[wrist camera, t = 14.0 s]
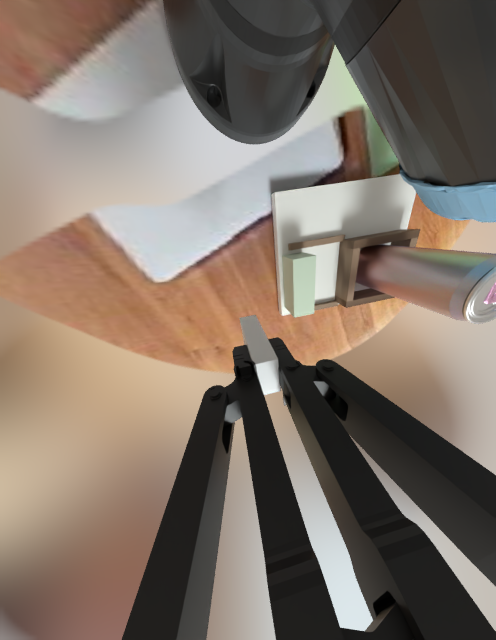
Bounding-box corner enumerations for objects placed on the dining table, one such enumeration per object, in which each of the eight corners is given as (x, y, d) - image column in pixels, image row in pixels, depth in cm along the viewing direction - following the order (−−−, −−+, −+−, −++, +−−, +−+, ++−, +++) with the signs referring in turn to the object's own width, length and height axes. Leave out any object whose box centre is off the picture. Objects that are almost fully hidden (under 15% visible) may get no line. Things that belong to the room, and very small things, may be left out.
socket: (339, 239, 26) (354, 240, 23) (399, 229, 26) (420, 229, 24) (334, 300, 30) (346, 307, 27) (385, 290, 31) (401, 295, 28)
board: (271, 194, 23) (276, 191, 21) (410, 174, 25) (426, 169, 23) (279, 312, 31) (283, 317, 29) (384, 290, 33) (394, 294, 31)
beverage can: (386, 240, 27) (553, 250, 14) (378, 279, 30) (511, 318, 16) (349, 247, 26) (485, 264, 13) (345, 286, 29) (454, 332, 16)
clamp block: (282, 255, 25) (293, 259, 22) (302, 252, 25) (316, 255, 22) (284, 307, 29) (294, 317, 25) (302, 303, 29) (314, 313, 26)
